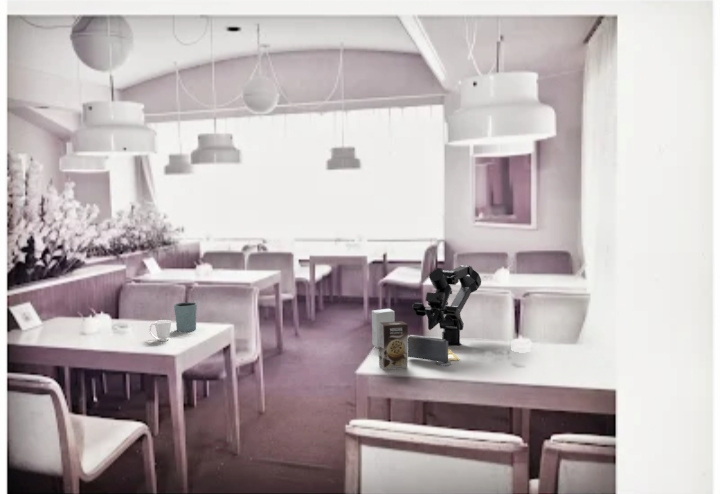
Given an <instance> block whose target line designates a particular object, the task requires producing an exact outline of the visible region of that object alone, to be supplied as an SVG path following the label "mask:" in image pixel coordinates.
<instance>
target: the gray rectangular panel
mask: <svg viewBox="0 0 720 494" xmlns="http://www.w3.org/2000/svg"><path fill="white" fill-rule="evenodd" d="M448 348H449V345H448V341H446V340H445V339H442V338H437V337H430V336H429V337H428V336H422V335H414V334H410V335H408V358H413V359H420V360H426V361H427V360H428V361H433V362H438V361H439V362H448Z"/></svg>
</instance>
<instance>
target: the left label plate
mask: <svg viewBox="0 0 720 494" xmlns="http://www.w3.org/2000/svg"><path fill="white" fill-rule="evenodd" d="M448 361H450V362H452V361H455V362H457V361H460V359H459V357H458V356H457V354H456V353H453V354H448Z"/></svg>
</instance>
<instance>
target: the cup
mask: <svg viewBox="0 0 720 494" xmlns="http://www.w3.org/2000/svg"><path fill="white" fill-rule="evenodd" d="M153 325H154V326H155V332H156V335H157V336H155V335H154V333H153V332H152V327H153ZM171 326H172V320H169V319H160V320H156V321H155V322H153V323H151V325H150V326H149V329H148V330H149V334H150V336H151V337H152V338H154V339H156V340H158V342H166V341H169V337H170V334H171Z"/></svg>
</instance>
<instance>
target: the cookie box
mask: <svg viewBox="0 0 720 494" xmlns="http://www.w3.org/2000/svg"><path fill="white" fill-rule="evenodd" d="M408 325H409V324H408V323H406V322H405V321H403V320H400V321H398V320H397V321H395V322H380V323H379V348H378V350H379V351H378V365H379V367H380V368H381V369H382V370H384V371H387V370H386V369H388V370H398V369H408V368H409V367H408V361H409V360H408V358H409V357H408V337H409V333H408V332H409V326H408Z"/></svg>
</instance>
